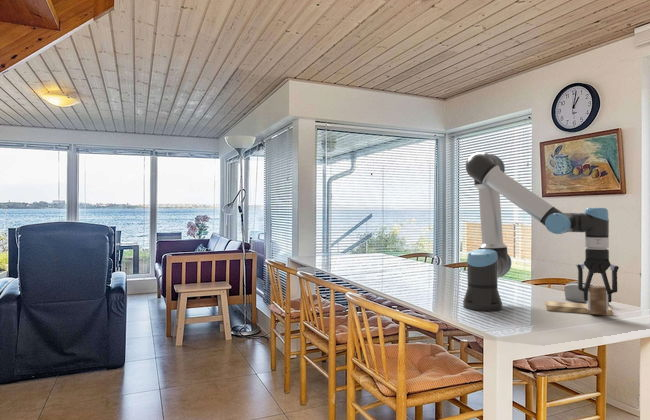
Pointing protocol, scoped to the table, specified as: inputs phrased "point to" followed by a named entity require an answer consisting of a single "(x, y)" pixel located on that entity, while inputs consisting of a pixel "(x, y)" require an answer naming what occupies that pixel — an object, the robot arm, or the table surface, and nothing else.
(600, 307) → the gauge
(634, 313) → the table surface
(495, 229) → the robot arm
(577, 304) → the board
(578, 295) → the grey curved slab
